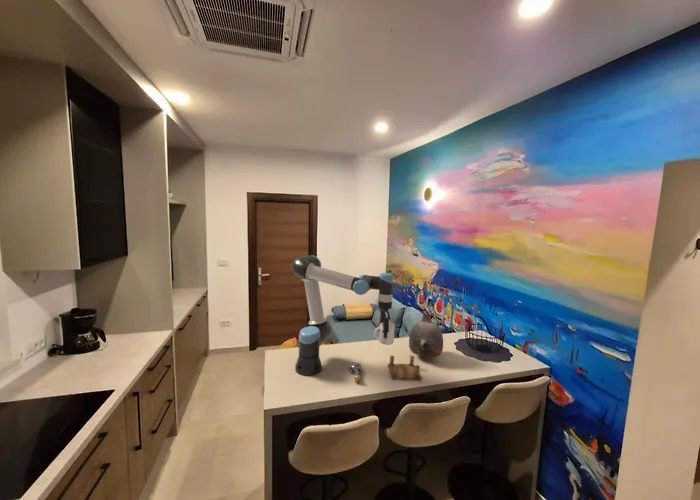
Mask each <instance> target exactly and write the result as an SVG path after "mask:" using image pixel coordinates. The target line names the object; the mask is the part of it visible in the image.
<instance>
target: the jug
mask: <svg viewBox="0 0 700 500" xmlns="http://www.w3.org/2000/svg"><path fill="white" fill-rule="evenodd" d="M408 347H409V350H410V351H411V352H412V353H413V354H415V355H418V356H421V357H423V358H437V357H439V356H440V355H441V354H442V353H443V349H444V337H443V332H442V330H441V328H440V322H437V323H436V322H434V321H432V316H431V314H429V313H426V311H423V314H422V319H421V320H419V321H418V322H416V323H414V325H413V326H412V328H411V330H410V333H409V338H408Z"/></svg>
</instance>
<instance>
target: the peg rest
mask: <svg viewBox="0 0 700 500" xmlns="http://www.w3.org/2000/svg"><path fill="white" fill-rule="evenodd" d="M414 361H415V356H414V355H410V356H409V363H395V355H393V354H392V355H390V356H389V363H387V368H388V371H389V374H390V377H391V378H392V381H422V376H421V374H420V372H421V371H420V369H421V366H420V365H418V364H417V365H415V364H414Z"/></svg>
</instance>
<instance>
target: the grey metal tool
mask: <svg viewBox="0 0 700 500" xmlns="http://www.w3.org/2000/svg"><path fill="white" fill-rule="evenodd" d="M349 366H350V367H349V369H350V370H351V371H354V372H355V374H354V382H355V383H360V381H361V375H360V374H359V373H358V371H360V370H362V365H361V363H359V362H352V363H350V365H349Z"/></svg>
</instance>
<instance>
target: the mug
mask: <svg viewBox="0 0 700 500" xmlns="http://www.w3.org/2000/svg"><path fill="white" fill-rule="evenodd" d="M395 326H396V325H395V323H392V322H389V332H388V337H387V343H382V335H383V332H382V331H383V323H380V322H379V326H378V327H376V328H374V330H373V333H372V334H373V338H374V339H376V340H378V341H379V343H380V344H381V345H386V346H390V345H391V346H392V344H394V342H395V328H396V327H395ZM378 331H379V336H377V332H378Z"/></svg>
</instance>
